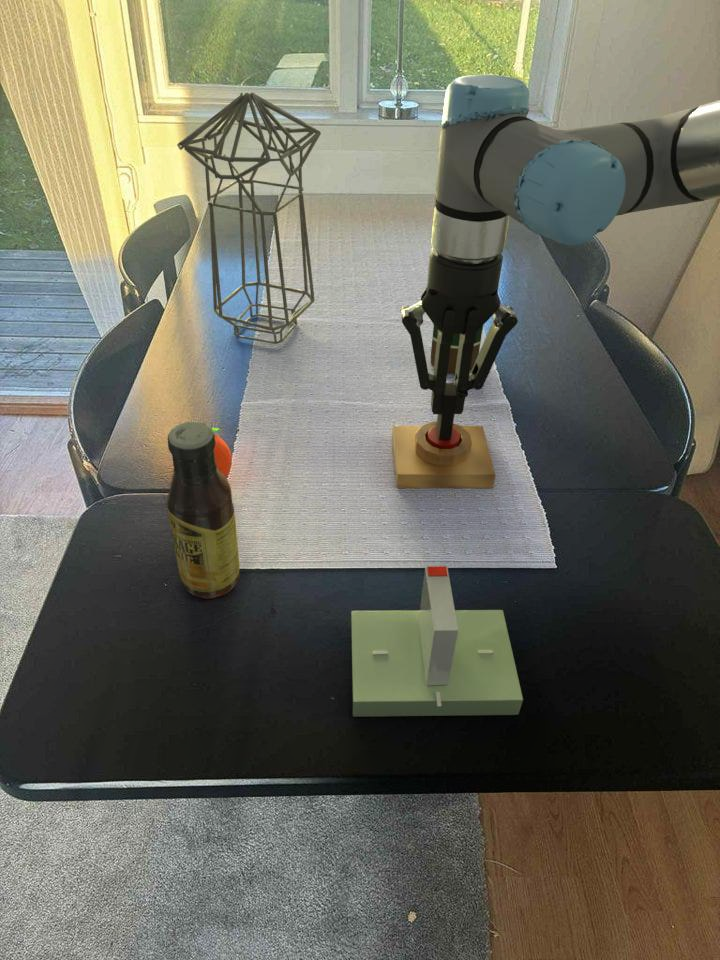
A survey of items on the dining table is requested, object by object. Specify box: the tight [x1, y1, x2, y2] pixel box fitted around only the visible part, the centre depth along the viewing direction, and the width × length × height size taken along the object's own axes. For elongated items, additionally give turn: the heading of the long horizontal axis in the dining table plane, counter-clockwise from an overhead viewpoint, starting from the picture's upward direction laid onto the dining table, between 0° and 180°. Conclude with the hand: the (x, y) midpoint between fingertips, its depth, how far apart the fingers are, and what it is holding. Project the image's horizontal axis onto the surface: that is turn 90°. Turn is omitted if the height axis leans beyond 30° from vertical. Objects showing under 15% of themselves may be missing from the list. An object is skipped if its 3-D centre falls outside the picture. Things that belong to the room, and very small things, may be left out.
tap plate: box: [350, 609, 524, 718], centre depth 66 cm, size 15×11×3 cm
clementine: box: [172, 427, 233, 478], centre depth 84 cm, size 8×7×7 cm
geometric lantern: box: [176, 91, 322, 345], centre depth 103 cm, size 16×16×35 cm
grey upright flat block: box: [418, 565, 458, 685], centre depth 62 cm, size 7×2×8 cm, turn 2°
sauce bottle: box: [165, 420, 241, 600], centre depth 68 cm, size 7×6×20 cm
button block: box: [391, 421, 496, 489], centre depth 89 cm, size 12×10×4 cm
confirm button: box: [427, 426, 460, 449], centre depth 88 cm, size 4×4×2 cm
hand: (443, 432), depth 87 cm, fingers closed
